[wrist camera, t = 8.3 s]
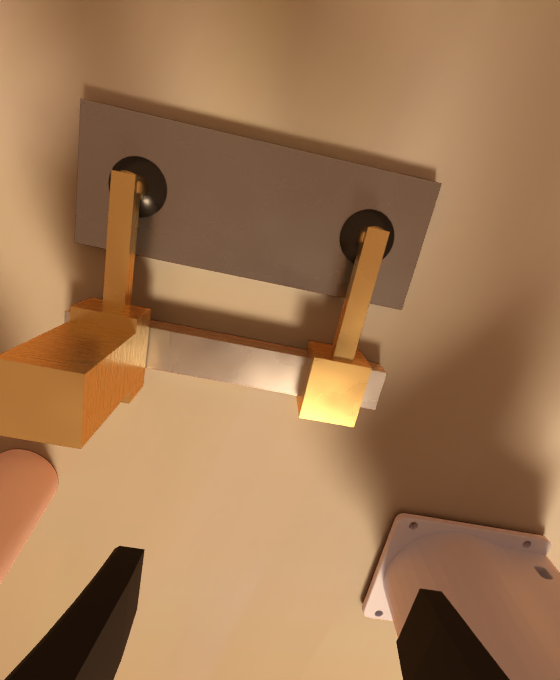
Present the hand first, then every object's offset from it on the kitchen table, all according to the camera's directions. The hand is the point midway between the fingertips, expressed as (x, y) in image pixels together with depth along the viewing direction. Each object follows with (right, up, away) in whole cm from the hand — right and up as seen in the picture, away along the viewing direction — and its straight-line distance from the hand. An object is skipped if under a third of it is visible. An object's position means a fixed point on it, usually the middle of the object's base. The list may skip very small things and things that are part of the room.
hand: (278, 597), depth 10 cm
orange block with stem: (-7, +9, +7) cm, 13 cm away
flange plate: (-1, +12, +7) cm, 14 cm away
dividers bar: (-2, +9, +8) cm, 12 cm away
